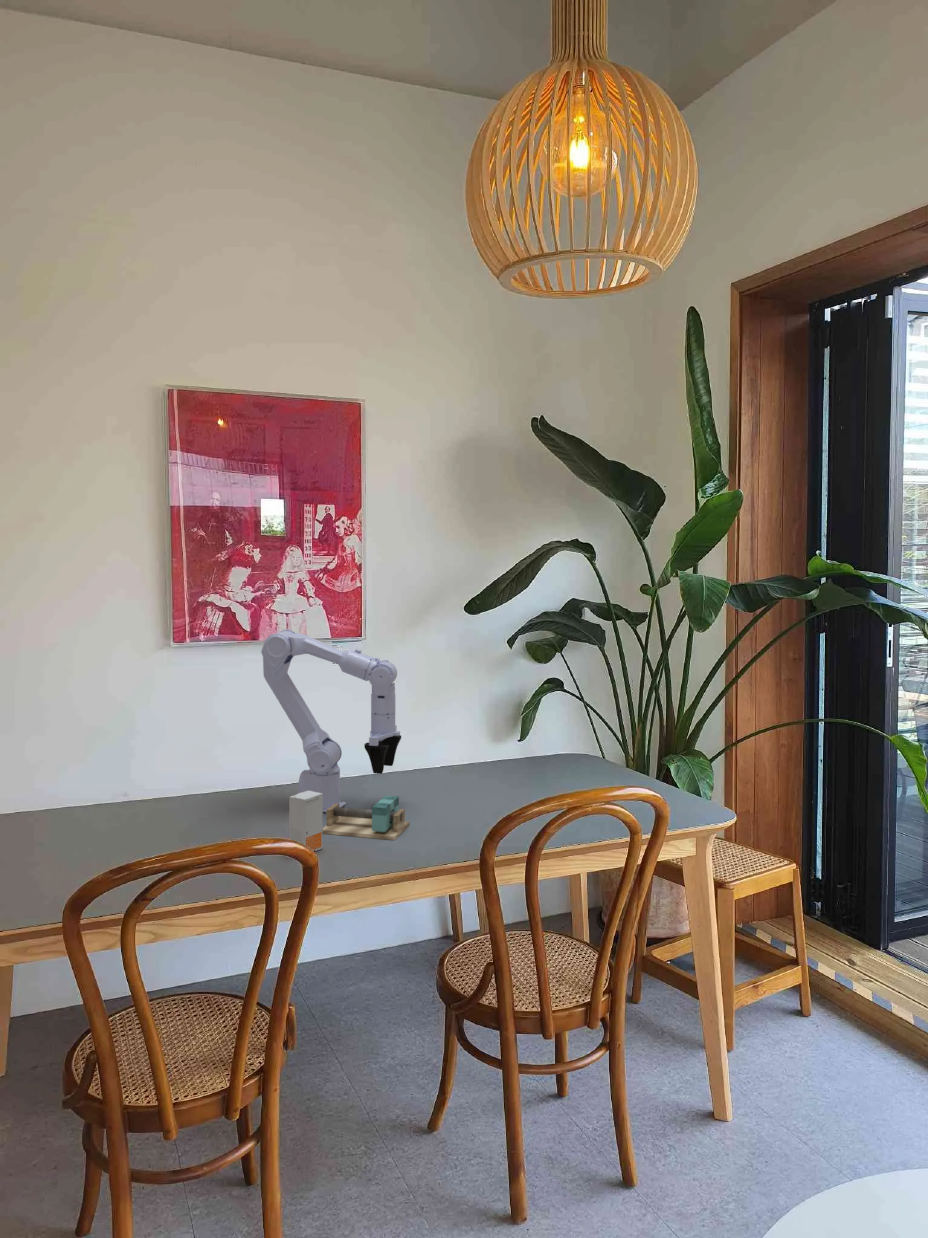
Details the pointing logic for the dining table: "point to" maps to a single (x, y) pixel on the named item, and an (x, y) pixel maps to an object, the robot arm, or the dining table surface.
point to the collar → (384, 813)
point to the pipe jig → (361, 823)
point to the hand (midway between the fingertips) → (383, 769)
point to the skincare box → (306, 818)
